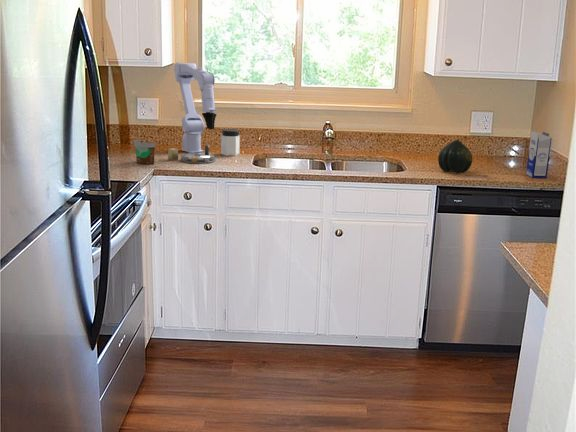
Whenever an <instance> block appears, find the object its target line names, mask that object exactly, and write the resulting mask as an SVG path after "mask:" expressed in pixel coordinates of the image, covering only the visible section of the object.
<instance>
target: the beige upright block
mask: <svg viewBox="0 0 576 432" xmlns="http://www.w3.org/2000/svg"><path fill="white" fill-rule="evenodd" d="M167 160H168V161H171V162H172V161H173V162H174V161H178V160H179V149H178V148H174V147H173V148H167Z"/></svg>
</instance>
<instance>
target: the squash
mask: <svg viewBox="0 0 576 432" xmlns="http://www.w3.org/2000/svg"><path fill="white" fill-rule="evenodd" d="M437 162H438V166H439V168H440V169H441V170H442V171H443V172H451V171H452V172H454V173H455V174H457V175H459V174H461V173H463V174H464V173H466V172H467V171H468V170H470V168H471V166H472V163H473V154H472V151H470V149H469V148H468V147H467V146H466V145H465V144H463V142H462V141H461V140H459V139H456V140H453V141H451V142H450V143H448V144H446V145H445V146H444V147H443V148H441V150H440V152H439V154H438V158H437Z"/></svg>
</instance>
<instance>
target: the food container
mask: <svg viewBox="0 0 576 432" xmlns="http://www.w3.org/2000/svg"><path fill="white" fill-rule="evenodd" d="M133 146H134V150H135V157H136V159H135V160H136V164H137V165H143V166H144V165H145V166H147V165H148V166H151V165H152V166H153V165H155V154H156V153H155V151H156V150H155V149H156V146H157V145H156V142H148V141H141V139H140V138H139V139H135V140H134V141H133Z"/></svg>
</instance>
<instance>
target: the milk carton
mask: <svg viewBox="0 0 576 432" xmlns="http://www.w3.org/2000/svg"><path fill="white" fill-rule="evenodd" d="M529 140H530V142H529V148H528V157H527V164H526V171H525V175H526V176H527V177H530V178H532V179H547V178H548V172H549V165H550V157H551V150H552V143H553V137H551V136H550V133H548V132H545V131H542V133H539V132H537V131H533V130H531V134H530V139H529Z"/></svg>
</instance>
